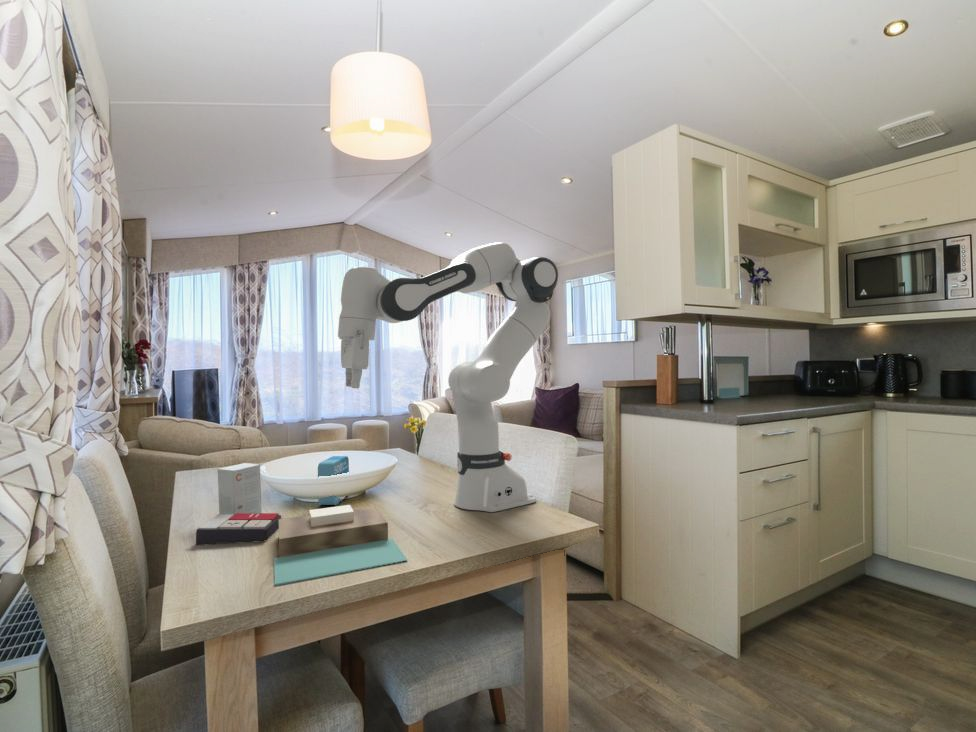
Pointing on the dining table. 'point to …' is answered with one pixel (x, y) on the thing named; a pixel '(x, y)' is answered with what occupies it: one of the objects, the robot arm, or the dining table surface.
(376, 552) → the mat
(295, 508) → the dining table surface
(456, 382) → the robot arm
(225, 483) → the small box
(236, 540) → the calculator
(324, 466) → the data package
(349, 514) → the white rectangular eraser
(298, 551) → the board
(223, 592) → the dining table surface
